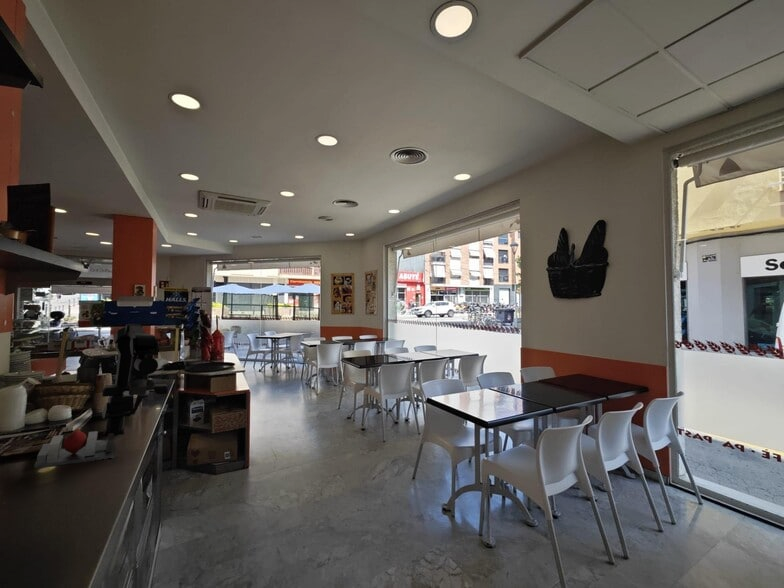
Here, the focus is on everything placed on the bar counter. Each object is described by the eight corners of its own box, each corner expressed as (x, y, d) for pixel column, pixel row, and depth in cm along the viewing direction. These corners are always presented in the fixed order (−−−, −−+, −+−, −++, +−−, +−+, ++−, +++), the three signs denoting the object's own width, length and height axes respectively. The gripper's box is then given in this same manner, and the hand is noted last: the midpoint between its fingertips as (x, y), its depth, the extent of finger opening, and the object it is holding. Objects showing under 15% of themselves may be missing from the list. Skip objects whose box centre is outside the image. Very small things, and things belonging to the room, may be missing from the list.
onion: (71, 458, 112) (75, 432, 112) (56, 455, 113) (60, 429, 113) (89, 451, 117) (93, 427, 118) (75, 449, 118) (79, 424, 119)
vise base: (41, 454, 114) (44, 435, 115) (114, 446, 126) (117, 429, 127) (34, 468, 105) (37, 447, 106) (114, 458, 117) (117, 439, 117)
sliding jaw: (86, 446, 120) (88, 432, 121) (112, 444, 124) (114, 429, 125) (84, 456, 113) (86, 440, 114) (111, 453, 117) (114, 437, 118)
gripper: (105, 374, 114) (97, 423, 112) (172, 373, 125) (166, 418, 124) (106, 368, 123) (99, 414, 121) (169, 368, 134) (162, 410, 133)
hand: (132, 414), depth 124 cm, fingers closed
